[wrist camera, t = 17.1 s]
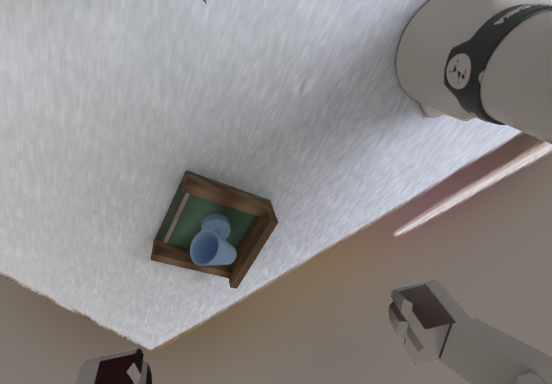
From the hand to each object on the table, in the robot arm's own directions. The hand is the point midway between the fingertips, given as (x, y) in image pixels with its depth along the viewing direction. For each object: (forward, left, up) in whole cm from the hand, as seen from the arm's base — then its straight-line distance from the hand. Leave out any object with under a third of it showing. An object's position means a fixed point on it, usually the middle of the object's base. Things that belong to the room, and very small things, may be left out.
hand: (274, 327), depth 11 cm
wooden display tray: (+4, +22, -37) cm, 43 cm away
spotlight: (+4, +22, -37) cm, 43 cm away
